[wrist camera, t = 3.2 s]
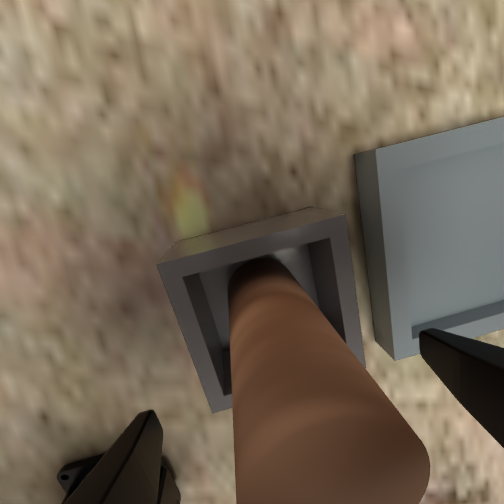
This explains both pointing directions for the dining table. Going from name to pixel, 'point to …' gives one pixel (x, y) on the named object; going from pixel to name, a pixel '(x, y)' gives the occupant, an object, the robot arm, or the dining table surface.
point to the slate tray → (434, 234)
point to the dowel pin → (309, 405)
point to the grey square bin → (246, 249)
